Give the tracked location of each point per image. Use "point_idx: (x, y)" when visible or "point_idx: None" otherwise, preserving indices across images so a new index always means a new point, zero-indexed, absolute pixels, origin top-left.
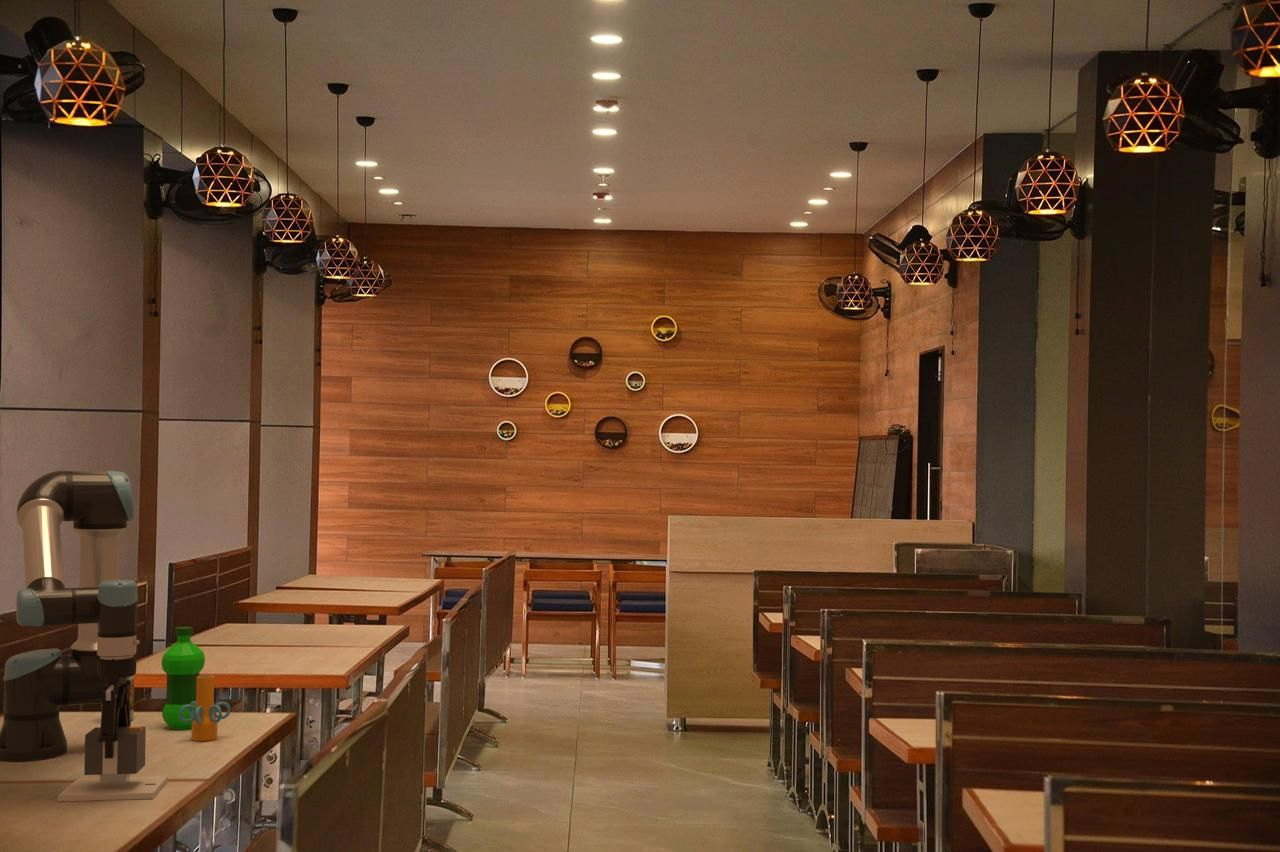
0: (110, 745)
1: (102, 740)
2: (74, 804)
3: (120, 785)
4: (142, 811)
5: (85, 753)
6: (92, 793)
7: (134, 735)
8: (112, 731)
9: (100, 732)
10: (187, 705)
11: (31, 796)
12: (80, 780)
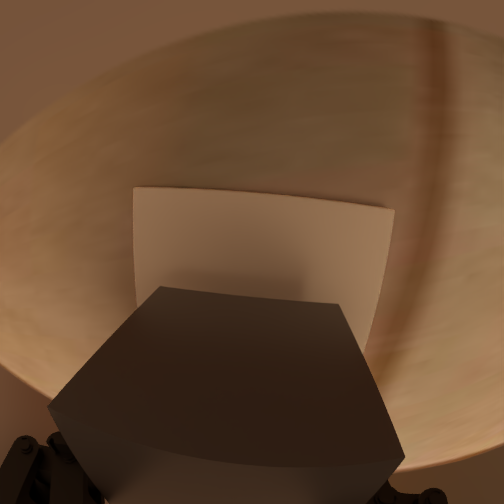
0: None
1: (34, 441)
2: (107, 244)
3: None
4: None
5: (113, 337)
6: (146, 296)
7: None
8: (31, 490)
9: (5, 458)
10: None
11: (231, 78)
12: (359, 225)
